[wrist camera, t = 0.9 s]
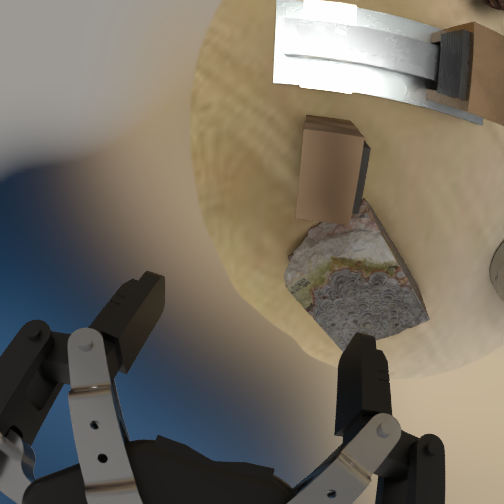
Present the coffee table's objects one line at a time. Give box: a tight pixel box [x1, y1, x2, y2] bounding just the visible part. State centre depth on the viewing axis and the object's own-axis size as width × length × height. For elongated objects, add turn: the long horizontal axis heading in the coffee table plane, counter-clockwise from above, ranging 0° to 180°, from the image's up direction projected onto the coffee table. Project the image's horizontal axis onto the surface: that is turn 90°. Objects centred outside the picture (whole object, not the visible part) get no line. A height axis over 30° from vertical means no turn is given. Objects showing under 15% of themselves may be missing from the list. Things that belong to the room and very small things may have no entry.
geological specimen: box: [284, 198, 429, 352], centre depth 31 cm, size 11×6×15 cm
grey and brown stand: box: [273, 0, 504, 126], centre depth 17 cm, size 20×8×9 cm, turn 88°
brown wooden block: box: [295, 115, 370, 226], centre depth 23 cm, size 5×6×8 cm
